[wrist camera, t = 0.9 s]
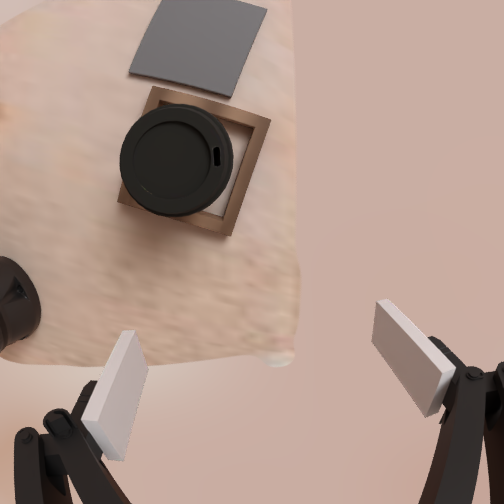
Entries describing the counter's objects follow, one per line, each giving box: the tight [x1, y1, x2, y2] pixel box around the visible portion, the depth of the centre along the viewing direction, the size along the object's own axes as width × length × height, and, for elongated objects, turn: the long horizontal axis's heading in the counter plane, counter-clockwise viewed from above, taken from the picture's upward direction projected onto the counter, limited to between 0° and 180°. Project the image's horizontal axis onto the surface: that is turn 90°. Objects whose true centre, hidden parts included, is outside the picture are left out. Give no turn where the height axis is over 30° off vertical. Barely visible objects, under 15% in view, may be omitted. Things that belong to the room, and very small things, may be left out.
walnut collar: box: [117, 86, 271, 236], centre depth 35 cm, size 15×15×2 cm
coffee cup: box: [120, 104, 233, 217], centre depth 29 cm, size 10×10×15 cm
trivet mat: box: [129, 0, 267, 98], centre depth 31 cm, size 14×14×1 cm
